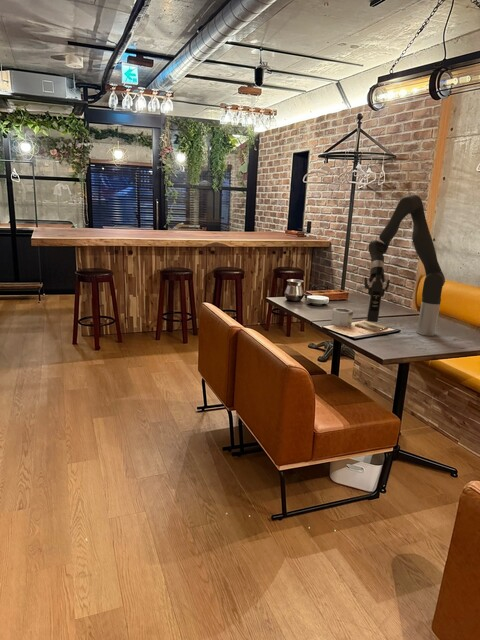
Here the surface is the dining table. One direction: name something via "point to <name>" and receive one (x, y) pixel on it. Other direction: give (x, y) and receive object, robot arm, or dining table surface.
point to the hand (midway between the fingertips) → (376, 295)
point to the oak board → (371, 325)
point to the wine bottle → (375, 297)
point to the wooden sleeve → (342, 317)
